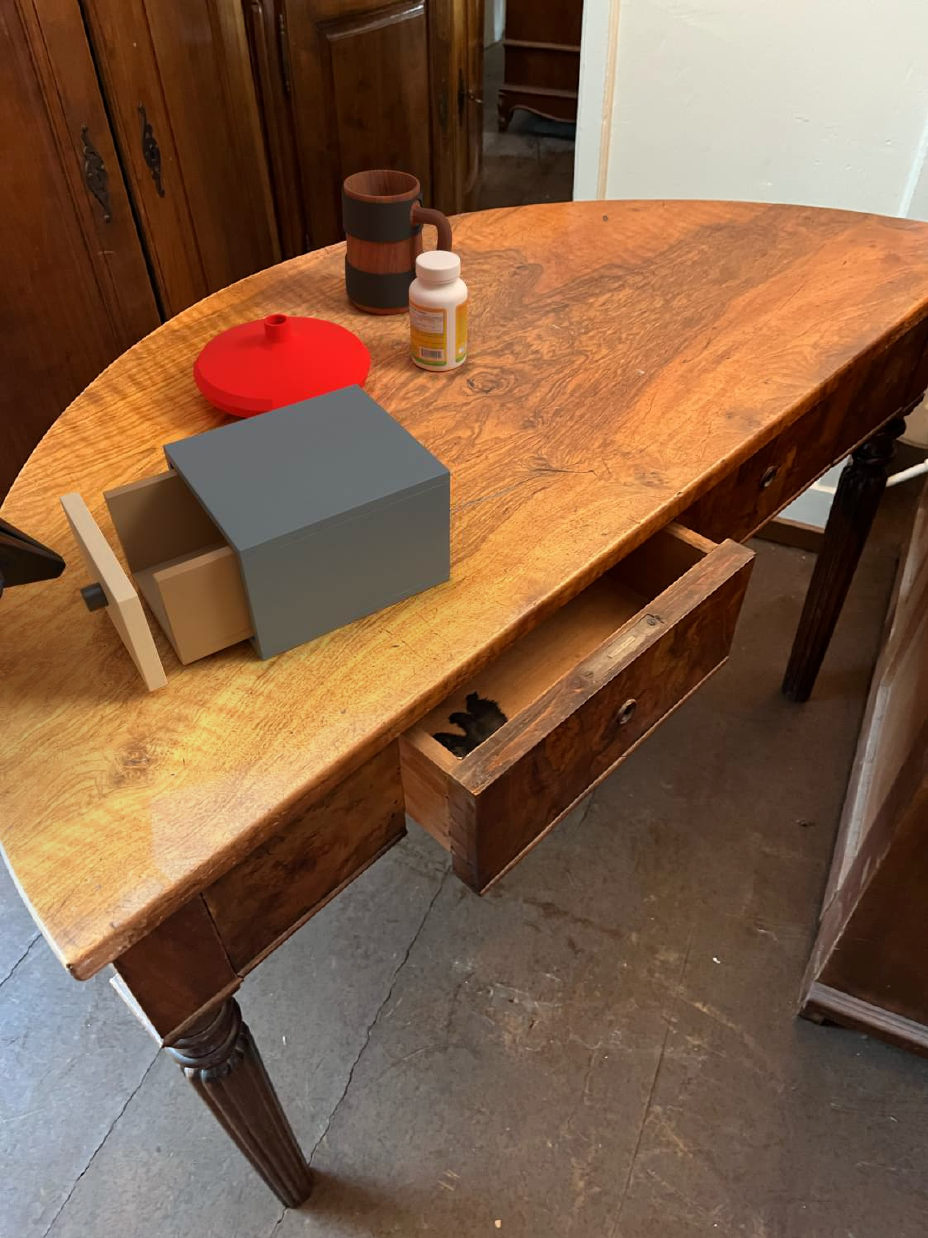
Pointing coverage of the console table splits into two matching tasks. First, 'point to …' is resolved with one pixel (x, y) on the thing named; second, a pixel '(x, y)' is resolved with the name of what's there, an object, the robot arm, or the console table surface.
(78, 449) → the console table surface
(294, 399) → the red squat vase
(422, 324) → the supplement bottle
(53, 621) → the console table surface
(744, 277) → the console table surface
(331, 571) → the cabinet
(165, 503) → the drawer
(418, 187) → the mug
